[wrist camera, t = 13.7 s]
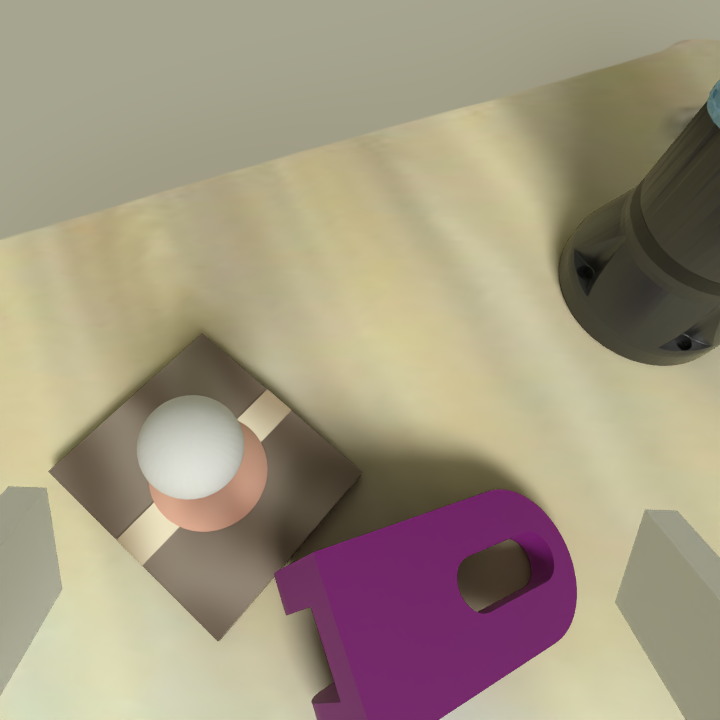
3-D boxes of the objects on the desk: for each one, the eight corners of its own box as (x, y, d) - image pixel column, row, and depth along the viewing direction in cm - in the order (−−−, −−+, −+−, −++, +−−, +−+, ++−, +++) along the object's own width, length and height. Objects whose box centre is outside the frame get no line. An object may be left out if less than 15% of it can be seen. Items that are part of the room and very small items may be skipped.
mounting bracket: (458, 509, 47) (254, 581, 36) (533, 475, 41) (312, 551, 30) (509, 631, 44) (302, 751, 33) (599, 615, 37) (379, 758, 26)
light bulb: (243, 420, 40) (226, 369, 31) (262, 501, 38) (249, 471, 29) (159, 442, 39) (115, 395, 30) (174, 526, 37) (132, 503, 28)
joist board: (204, 339, 44) (201, 331, 43) (360, 475, 41) (362, 471, 40) (55, 474, 39) (47, 470, 38) (220, 639, 36) (217, 641, 35)
